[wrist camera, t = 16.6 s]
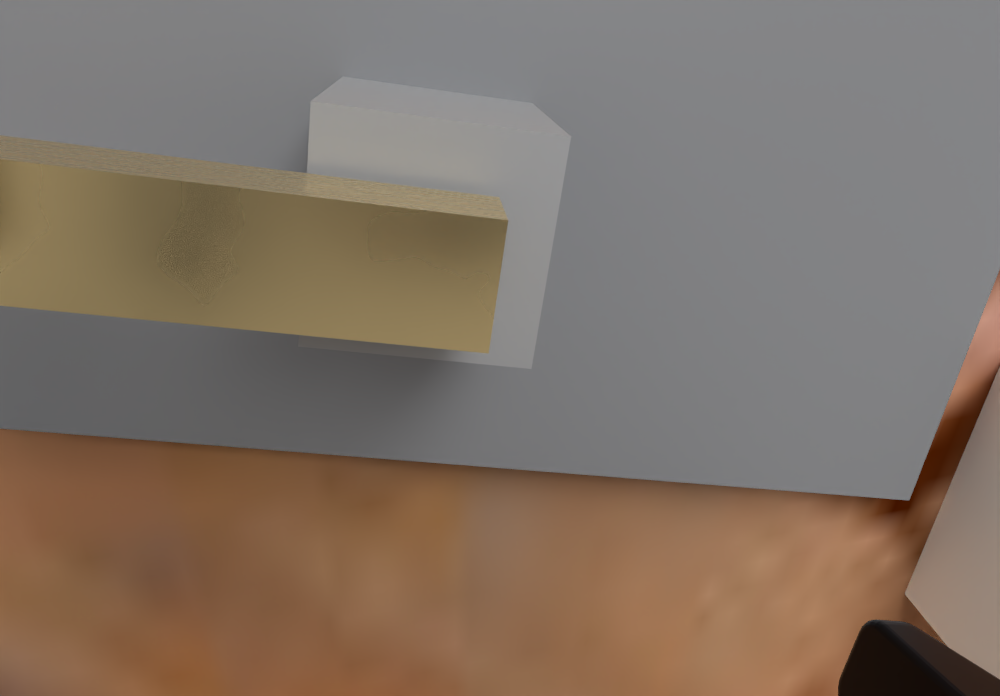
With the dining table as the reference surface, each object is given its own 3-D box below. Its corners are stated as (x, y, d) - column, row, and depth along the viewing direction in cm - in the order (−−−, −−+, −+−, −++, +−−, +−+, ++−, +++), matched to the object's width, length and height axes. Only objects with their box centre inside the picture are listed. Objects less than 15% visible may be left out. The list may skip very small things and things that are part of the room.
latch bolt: (482, 317, 13) (509, 468, 9) (-342, 232, 12) (-802, 363, 7) (499, 197, 12) (538, 296, 8) (-379, 87, 11) (-917, 139, 6)
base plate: (889, 480, 23) (1036, 629, 17) (-6, 407, 20) (-172, 559, 14) (1093, -60, 18) (1394, -93, 12) (-78, -277, 15) (-386, -453, 9)
